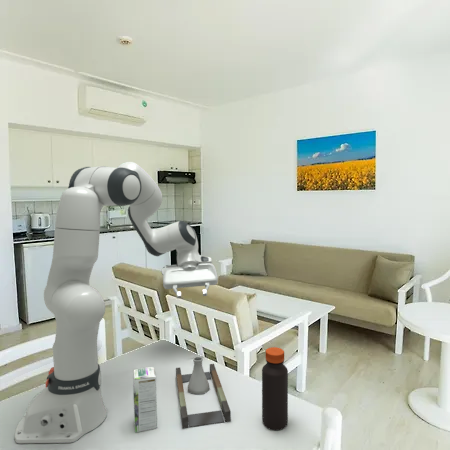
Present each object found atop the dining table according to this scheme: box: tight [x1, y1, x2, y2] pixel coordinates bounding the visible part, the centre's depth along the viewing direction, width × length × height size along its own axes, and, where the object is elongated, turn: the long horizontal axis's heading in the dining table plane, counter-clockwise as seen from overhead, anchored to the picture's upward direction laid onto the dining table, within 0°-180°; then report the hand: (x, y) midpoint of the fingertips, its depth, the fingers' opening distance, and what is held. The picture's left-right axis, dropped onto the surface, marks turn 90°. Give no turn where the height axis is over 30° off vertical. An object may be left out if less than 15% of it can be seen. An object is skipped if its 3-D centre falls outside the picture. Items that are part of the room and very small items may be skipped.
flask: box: [187, 355, 211, 395], centre depth 112 cm, size 7×7×10 cm
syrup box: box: [132, 366, 158, 433], centre depth 95 cm, size 6×6×14 cm
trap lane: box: [175, 363, 232, 429], centre depth 107 cm, size 13×27×3 cm, turn 11°
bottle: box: [261, 346, 289, 431], centre depth 94 cm, size 7×7×20 cm
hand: (192, 296), depth 127 cm, fingers open, 8 cm apart
